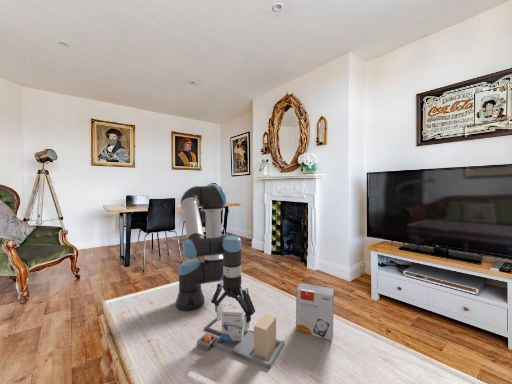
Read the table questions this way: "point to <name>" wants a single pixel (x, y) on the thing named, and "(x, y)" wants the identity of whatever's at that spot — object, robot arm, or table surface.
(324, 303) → the hard drive box
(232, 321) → the ink box
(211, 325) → the frame
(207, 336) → the brown egg
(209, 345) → the housing
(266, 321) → the billet
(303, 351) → the table surface
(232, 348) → the grey rectangular tray
